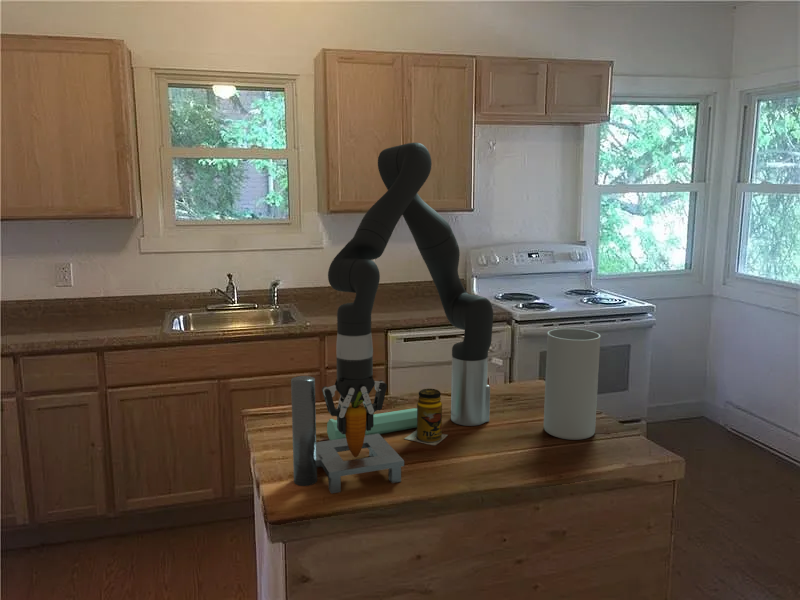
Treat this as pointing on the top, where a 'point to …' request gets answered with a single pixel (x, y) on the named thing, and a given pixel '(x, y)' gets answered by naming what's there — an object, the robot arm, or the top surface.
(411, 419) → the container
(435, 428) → the condiment
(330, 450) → the square hole stand
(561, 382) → the cylinder vase
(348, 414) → the carrot
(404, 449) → the top surface
